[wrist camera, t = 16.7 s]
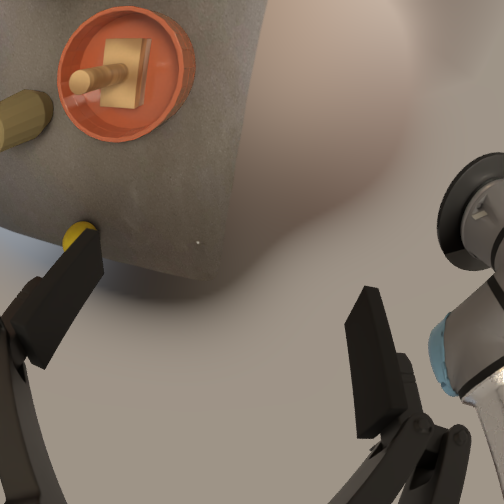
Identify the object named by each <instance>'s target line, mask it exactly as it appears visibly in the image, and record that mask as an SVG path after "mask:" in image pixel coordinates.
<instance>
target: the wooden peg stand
mask: <svg viewBox="0 0 504 504" xmlns="http://www.w3.org/2000/svg"><path fill="white" fill-rule="evenodd" d="M151 41H152V39H146V38H115V39H106V42H105V50H104V59H103V66H98V67H92V68H87V69H82V70H77V71H75V72H74V73H73V74H72V75H71V77H70V80H69V87H70V90H71V91H72V92H73V93H74V94H76V95H82V94H85V93H88V92H91V91H94V90H98V89H101V94H100V106H101V107H117V108H131V109H135V108H137V107H139V106H141V105H143V104H144V95H145V86H146V77H147V69H148V61H149V54H150V47H151Z"/></svg>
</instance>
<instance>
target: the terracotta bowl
mask: <svg viewBox="0 0 504 504" xmlns="http://www.w3.org/2000/svg"><path fill="white" fill-rule="evenodd" d="M115 38H146V39H152V41H151V47H150V54H149V61H148V69H147V77H146V86H145V95H144V104H143V105H141V106H139V107H137V108H135V109H131V108H117V107H101V106H100V94H101V89H98V90H94V91H91V92H88V93H85V94H82V95H76V94H74V93H73V92H72V91H71V90H70V87H69V80H70V77H71V75H72V74H73V73H74V72H75V71H77V70H82V69H87V68H92V67H98V66H103V59H104V50H105V42H106V39H115ZM195 68H196V65H195V55H194V50H193V47H192V44H191V41H190V39H189V37H188V35H187V34H186V33H185V31H184V30H183V29H182V28H181V26H180V25H179V24H178V23H176V22H175V21H174V20H172V19H171V18H169V17H167V16H165V15H164V14H162V13H158V12H154V11H151V10H147V9H143V8H139V7H134V6H121V7H113V8H110V9H107V10H104V11H101V12H98V13H97V14H95V15H94V16H92V17H91V18H89V19H88V20H86V21H85V22H83V23H82V24H81V25H80V26H79V28H78V29H77V30H76V31H75V32H74V33H73V34H72V35H71V37H70V39H69V40H68V42H67V44H66V46H65V48H64V50H63V52H62V55H61V59H60V62H59V66H58V76H57V86H58V92H59V97H60V101H61V103H62V106H63V108H64V110H65V112H66V114H67V116H68V117H69V118H70V119H71V121H72V122H73V123H74V124H75V126H76V127H78V128H79V129H80V130H82V131H83V132H84V133H86V134H87V135H88V136H91V137H93V138H96V139H99V140H101V141H107V142H117V143H118V142H124V141H130V140H135V139H137V138H139V137H141V136H143V135H145V134H147V133H149V132H151V131H152V130H154V129H155V128H157V127H158V126H160V125H161V124H163V123H164V122H165V121H166V120H168V119H169V118H170V117H171V116H173V115H174V114H175V113H176V112H177V111H178V110H179V108H180V107H181V106H182V105H183V103H184V102H185V100H186V99H187V97H188V95H189V93H190V90H191V88H192V85H193V81H194V77H195Z"/></svg>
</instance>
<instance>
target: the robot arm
mask: <svg viewBox="0 0 504 504" xmlns="http://www.w3.org/2000/svg"><path fill="white" fill-rule="evenodd" d="M459 236H460V239H461V242H462V244H463V245H464V247H465V248H466V250H467V251H468V252H469V254H470V255H472V256H473V257H474V258H476V259H478V260H481V261H483V262H484V263H485V264H487V265H488V266H490V267H491V268H492V269H493V270H494V271H495V273H494V274H493V275H492V276H491V277H490V278H489V279H488V280H487V281H486V282H485V283H484V284H483V285H482V286H481V287H479V289H477V290H476V291H475V292H474V293H473V294H472V295H471V296H470V297H468V298H467V299H466V300H465V301H464V302H463V303H461V304H460V305H459V306H458V307H457V308H456V309H454V310H453V311H452V312H449V313H448V314H447V315H446V317H445V318H444V319H443V320H442V321H441V322H440V323H439V324H438V325H437V326H436V327H434V329H433V330H432V332H431V334H430V338H429V342H428V349H429V357H430V362H431V365H432V369H433V372H434V374H435V376H436V379H437V381H438V382H440V383H441V387H442V389H443V390H444V391H445V392H446V393H447V394H448V395H450V396H452V397H455V396H459V397H460V399H461V402H462V403H463V404H466V405H469V406H473V407H474V408H475V409H476V411H477V414H478V417H479V419H480V422H481V425H482V428H483V431H484V433H485V436H486V439H487V442H488V445H489V448H490V452H491V455H492V458H493V461H494V465H495V468H496V472H497V475H498V479H499V482H500V486H501V490H502V494H503V498H504V177H495V178H492V179H489V180H487V181H485V182H484V183H482V184H481V185H480V186H478V187H477V188H476V189H475V190H474V191H473V193H472V194H471V195H470V196H469V198H468V199H467V201H466V203H465V205H464V207H463V209H462V212H461V215H460V220H459ZM103 275H104V269H103V261H102V253H101V244H100V234H99V230H94V229H90V228H86V229H85V230H84V231H83V232H82V233H81V234H80V235H79V236H78V238H77V239H76V240H75V241H74V242H73V243H72V244H71V245H70V246H69V248H68V249H67V250H66V251H65V252H64V253H63V254H62V256H61V257H60V258H59V259H58V260H57V261H56V263H55V264H54V265H53V266H52V267H51V268H50V270H49V271H48V272H47V273H46V275H45V276H44V277H43V278H41V277H38V276H37V277H35V278H33V279H32V280H30V281H29V282H28V283H27V284H26V285H25V286H24V288H23V289H22V291H20V293H19V294H18V295H17V298H15V299H14V300H13V301H12V303H11V304H10V305H9V307H8V308H7V309H6V311H5V312H4V313H3V315H2V316H1V317H0V479H1V483H2V486H3V489H4V493H5V496H6V502H5V503H4V504H67V502H66V500H65V498H64V495H63V493H62V491H61V488H60V486H59V483H58V481H57V478H56V475H55V473H54V470H53V467H52V465H51V462H50V459H49V456H48V453H47V450H46V447H45V444H44V441H43V438H42V434H41V430H40V427H39V424H38V419H37V416H36V412H35V408H34V404H33V399H32V395H31V390H30V386H29V381H28V376H27V371H26V365H25V363H24V360H25V359H26V357H27V356H28V358H29V360H30V362H31V363H32V364H33V365H36V366H38V367H40V368H42V369H44V370H45V369H46V367H47V365H48V363H49V361H50V360H51V358H52V356H53V354H54V353H55V351H56V349H57V347H58V346H59V344H60V342H61V341H62V339H63V337H64V336H65V334H66V332H67V331H68V329H69V327H70V326H71V324H72V322H73V321H74V319H75V317H76V316H77V314H78V313H79V311H80V309H81V308H82V306H83V305H84V303H85V302H86V300H87V299H88V297H89V296H90V294H91V292H92V291H93V289H94V288H95V286H96V285H97V283H98V282H99V280H100V279H101V277H102V276H103ZM344 325H345V332H346V339H347V346H348V354H349V362H350V370H351V379H352V386H353V396H354V407H355V418H356V430H357V438H359V439H373V438H375V437H376V436H377V435H378V434H381V441H380V442H378V443H377V444H376V445H374V446H373V447H372V448H371V449H370V451H372V452H371V453H370V454H369V456H368V457H367V458H366V460H365V461H364V462H363V463H362V465H361V466H360V467H359V468H358V470H357V471H356V472H355V473H354V474H353V476H352V477H351V478H350V479H349V481H348V482H347V483H346V484H345V485H344V486H343V487H342V489H341V490H340V491H339V492H338V493H337V494H336V495H335V496H334V497H333V499H332V500H331V501H330V502H329V503H328V504H391V503H392V502H393V501H394V499H395V498H396V496H397V495H398V493H399V492H400V490H401V489H402V487H403V486H404V484H405V486H404V489H403V492H402V494H401V497H400V499H399V502H398V504H459V501H460V497H461V493H462V489H463V484H464V480H465V475H466V470H467V465H468V460H469V454H470V448H471V435H470V432H469V431H468V429H467V428H466V427H465V426H463V425H460V424H457V425H454V426H453V427H451V428H450V429H446V428H443V427H440V426H437V425H434V423H433V421H432V419H431V418H430V417H429V416H428V415H427V414H425V413H423V410H422V405H421V401H420V397H419V392H418V388H417V384H416V383H415V381H416V380H415V376H414V375H413V374H414V372H413V368H412V364H411V362H410V360H409V359H408V357H407V356H406V354H405V353H396V350H395V346H394V342H393V339H392V335H391V331H390V327H389V324H388V320H387V317H386V313H385V309H384V306H383V302H382V299H381V296H380V292H379V289H378V288H374V287H369V286H364V288H363V290H362V292H361V294H360V296H359V298H358V300H357V301H356V303H355V305H354V307H353V309H352V311H351V313H350V315H349V316H348V318H347V320H346V322H345V324H344Z"/></svg>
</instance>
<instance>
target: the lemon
mask: <svg viewBox="0 0 504 504" xmlns="http://www.w3.org/2000/svg"><path fill="white" fill-rule="evenodd" d="M86 228H90V229H94V230H96V228H95V227H94V226H93V225H92V224H91V223H89V222H85V221H81V222H77V223H75V224H73V225H72V226H71V227H70V228H69V229H68V230H67V232H66V234H65V236H64V238H63V250H64V252H65V251H66V250H67V249H68V248H69V246H70V245H71V244H72V243H73V242H74V241H75V240H76V239H77V238H78V236H79V235H80V234H81V233H82V232H83V231H84V230H85V229H86Z"/></svg>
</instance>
